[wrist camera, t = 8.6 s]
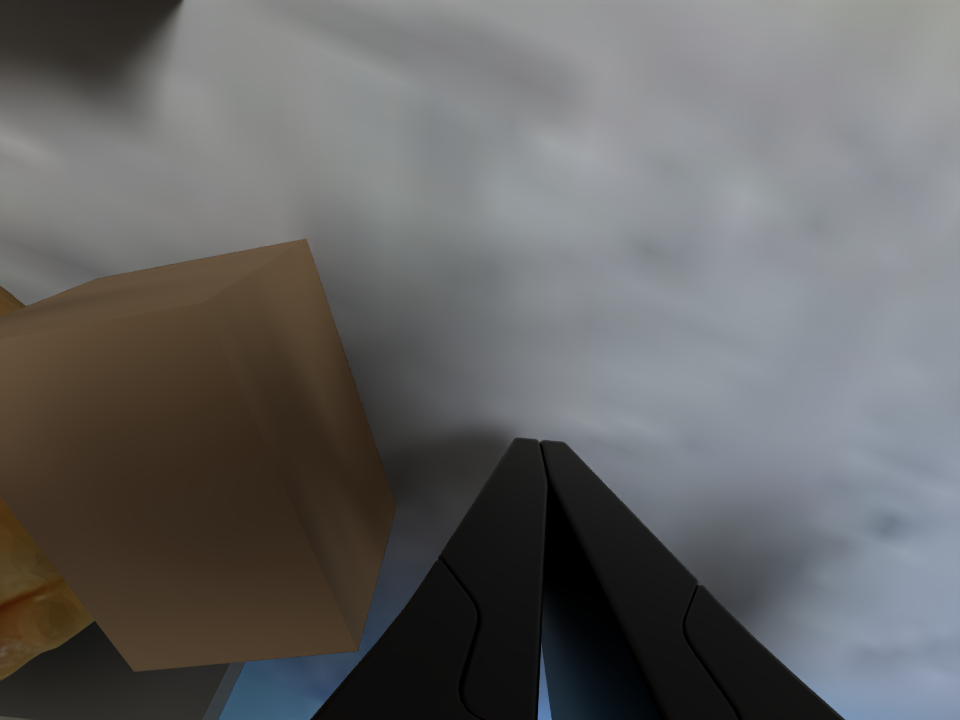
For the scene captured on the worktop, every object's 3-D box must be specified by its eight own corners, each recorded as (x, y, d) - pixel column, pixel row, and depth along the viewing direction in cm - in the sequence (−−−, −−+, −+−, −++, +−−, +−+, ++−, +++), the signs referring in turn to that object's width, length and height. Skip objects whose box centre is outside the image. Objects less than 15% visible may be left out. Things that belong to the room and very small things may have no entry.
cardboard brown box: (397, 501, 11) (357, 651, 8) (232, 522, 12) (134, 671, 9) (309, 237, 9) (202, 303, 6) (104, 275, 9) (-105, 358, 6)
